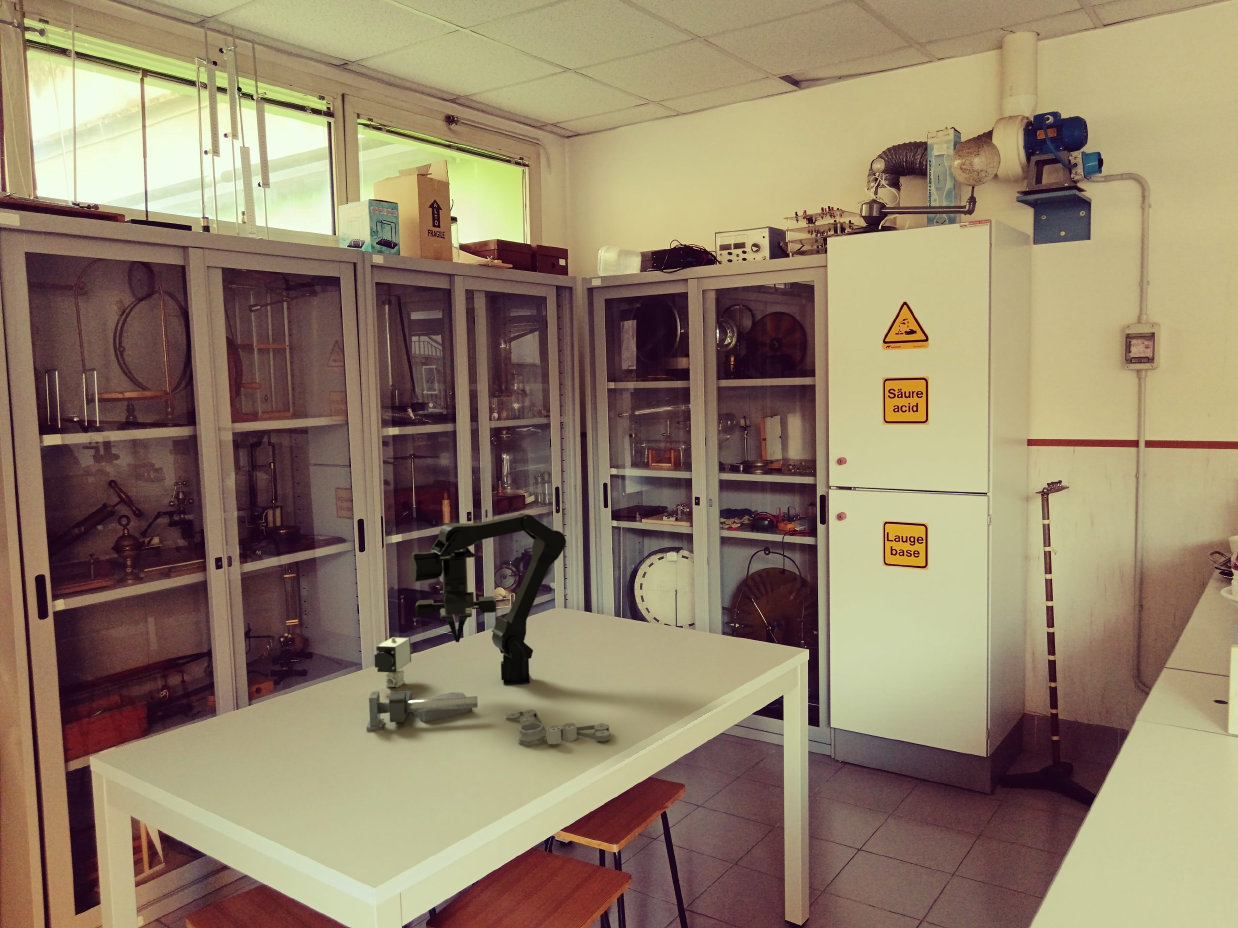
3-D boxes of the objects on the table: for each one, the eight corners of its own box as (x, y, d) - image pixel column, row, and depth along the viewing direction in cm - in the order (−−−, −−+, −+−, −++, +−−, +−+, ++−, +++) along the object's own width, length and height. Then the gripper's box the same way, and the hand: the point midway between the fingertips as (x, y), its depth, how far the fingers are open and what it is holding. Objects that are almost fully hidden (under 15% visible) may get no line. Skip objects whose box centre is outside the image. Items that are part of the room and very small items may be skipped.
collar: (411, 701, 206) (410, 678, 206) (404, 723, 192) (403, 699, 191) (398, 702, 206) (397, 679, 205) (390, 724, 192) (388, 700, 191)
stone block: (409, 719, 203) (422, 723, 195) (408, 697, 204) (421, 701, 195) (459, 711, 209) (474, 715, 200) (458, 690, 210) (473, 693, 201)
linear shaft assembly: (478, 715, 199) (477, 684, 198) (477, 723, 194) (476, 692, 193) (370, 722, 196) (368, 691, 195) (366, 731, 191) (365, 698, 190)
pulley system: (577, 765, 173) (622, 736, 185) (575, 742, 173) (620, 714, 185) (474, 741, 189) (521, 716, 201) (472, 720, 188) (519, 695, 201)
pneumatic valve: (414, 678, 226) (412, 631, 226) (393, 693, 215) (391, 644, 214) (393, 677, 228) (391, 630, 227) (372, 692, 216) (370, 643, 215)
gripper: (412, 586, 204) (415, 653, 205) (495, 581, 207) (497, 648, 208) (415, 576, 215) (418, 640, 216) (494, 572, 218) (496, 636, 219)
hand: (457, 641), depth 215 cm, fingers closed
